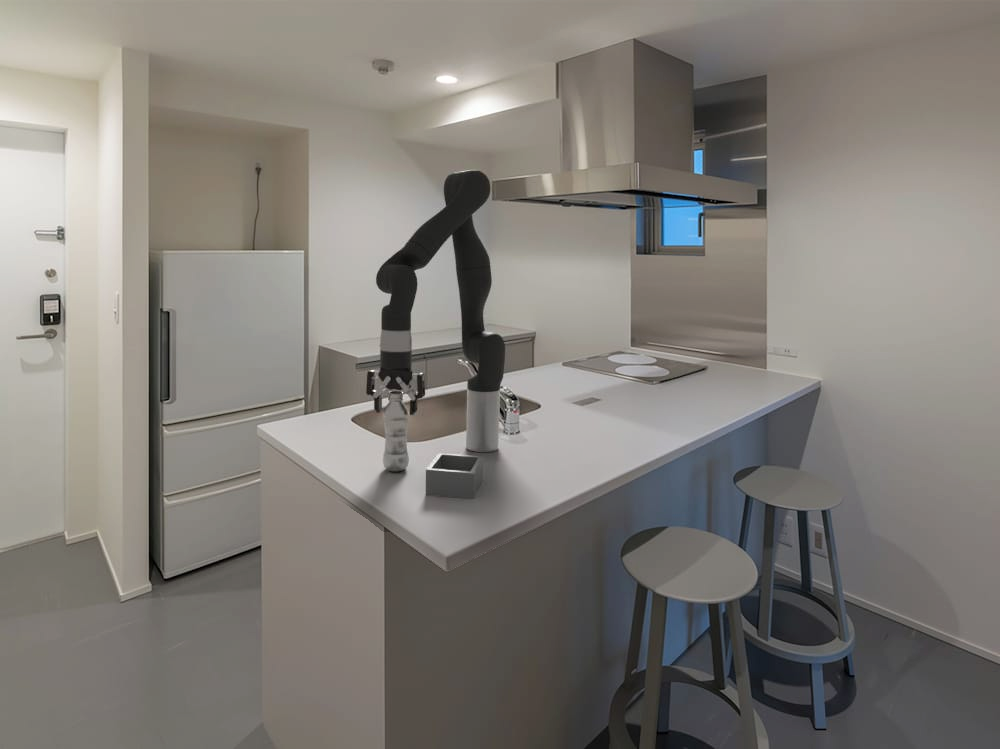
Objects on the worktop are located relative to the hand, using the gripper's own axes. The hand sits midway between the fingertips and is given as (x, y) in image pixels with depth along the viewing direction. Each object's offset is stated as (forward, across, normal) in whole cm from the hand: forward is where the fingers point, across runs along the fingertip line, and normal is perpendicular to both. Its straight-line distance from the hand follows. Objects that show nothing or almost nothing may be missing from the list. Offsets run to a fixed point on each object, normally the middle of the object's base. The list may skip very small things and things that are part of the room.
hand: (395, 413), depth 146 cm
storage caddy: (+15, -17, +8) cm, 24 cm away
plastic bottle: (+15, 0, 0) cm, 15 cm away
